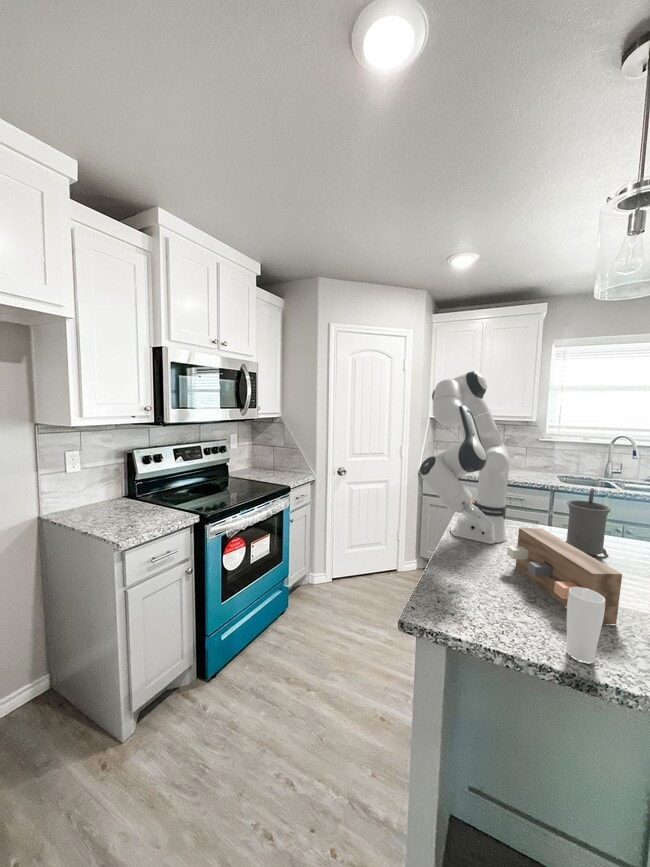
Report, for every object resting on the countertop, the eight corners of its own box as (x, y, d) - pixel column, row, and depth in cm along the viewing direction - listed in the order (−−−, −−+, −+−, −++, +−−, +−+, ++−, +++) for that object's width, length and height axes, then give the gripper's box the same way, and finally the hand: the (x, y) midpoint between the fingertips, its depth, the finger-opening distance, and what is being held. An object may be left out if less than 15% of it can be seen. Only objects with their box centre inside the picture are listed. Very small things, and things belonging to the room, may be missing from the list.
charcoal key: (534, 576, 108) (535, 567, 108) (528, 571, 112) (528, 561, 112) (552, 577, 109) (553, 567, 108) (545, 571, 112) (546, 562, 112)
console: (586, 625, 94) (592, 573, 93) (515, 566, 127) (519, 527, 126) (616, 625, 95) (622, 574, 93) (537, 566, 128) (541, 528, 126)
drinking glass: (588, 672, 78) (595, 605, 76) (555, 652, 84) (562, 590, 82) (604, 662, 81) (612, 598, 79) (572, 643, 87) (578, 584, 85)
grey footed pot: (605, 567, 129) (612, 498, 127) (556, 554, 139) (563, 490, 137) (609, 552, 143) (617, 490, 141) (565, 541, 153) (571, 483, 151)
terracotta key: (562, 598, 96) (563, 588, 96) (553, 591, 100) (554, 581, 100) (582, 599, 97) (583, 588, 96) (573, 592, 100) (574, 581, 100)
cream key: (512, 559, 120) (513, 550, 120) (507, 554, 124) (507, 546, 124) (528, 559, 121) (529, 550, 120) (522, 554, 124) (523, 546, 124)
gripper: (479, 501, 109) (508, 533, 110) (453, 485, 130) (478, 512, 131) (463, 515, 109) (492, 547, 111) (440, 496, 130) (464, 524, 131)
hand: (484, 528), depth 121 cm, fingers closed
